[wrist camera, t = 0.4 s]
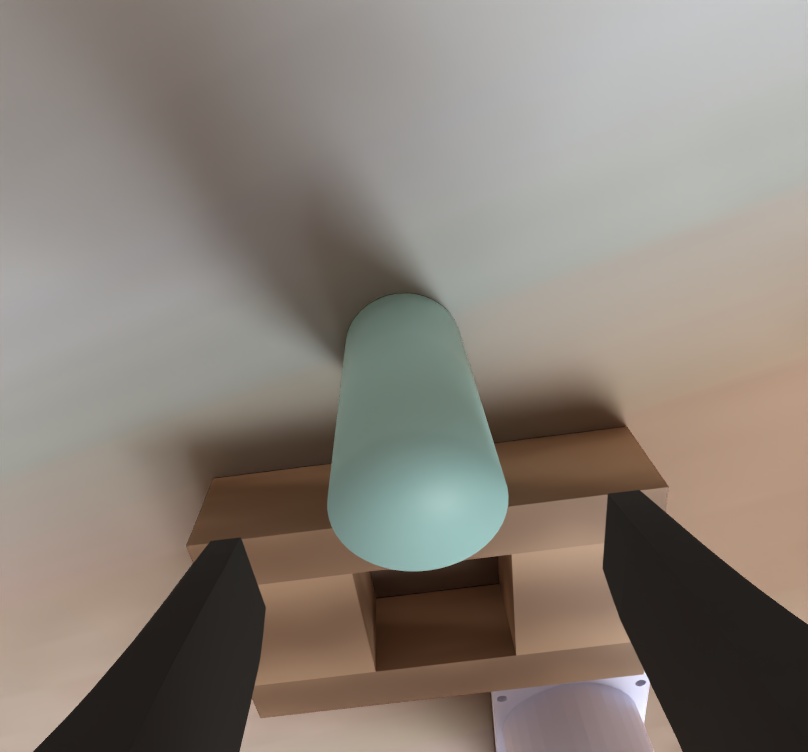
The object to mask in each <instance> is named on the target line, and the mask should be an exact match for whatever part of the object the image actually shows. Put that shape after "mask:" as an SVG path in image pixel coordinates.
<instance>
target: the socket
mask: <svg viewBox="0 0 808 752" xmlns="http://www.w3.org/2000/svg"><path fill="white" fill-rule="evenodd" d="M494 445H495V449H496V452H497V455H498V458H499V462H500V465H501V468H502V471H503V474H504V478H505V481H506V484H507V488H508V496H509V497H508V508H507V513H506V516H505V519H504V521H503V524H502V525H501V527H500V529H499V531H498V532H497V533H496V535H495V536H494V537H493V539H492V540H491V541H490V542H489V543H488V544H487V545H486V546H484V547H483V548H482V549H481V550H479V551H478V552H477V553H475V554H473V555H472V556H470V557H469V558H467V559H465V560H469V559H478V558H486V557H494V556H498V569H499V584H496V585H487V586H479V587H470V588H462V589H454V590H445V591H437V592H428V593H420V594H412V595H403V596H395V597H386V598H378V599H376V596H375V592H374V587H373V583H372V578H371V573H370V571H378V570H386V569H388V568H384V567H381V566H378V565H374V564H372V563H370V562H368V561H365V560H364V559H362V558H360V557H359V556H357V555H355V554H354V553H353V552H351V551H350V550H349V549H348V548H347V547H346V546H345V545H344V544H343V543H342V542H341V541H340V540H339V538H338V537H337V536H336V534H335V532H334V530H333V528H332V526H331V523H330V521H329V517H328V511H327V499H328V490H329V481H330V473H331V464H326V465H318V466H310V467H302V468H294V469H286V470H278V471H270V472H262V473H254V474H246V475H238V476H230V477H222V478H214V479H213V480H212V483H211V485H210V488H209V490H208V493H207V495H206V498H205V500H204V503H203V505H202V508H201V510H200V513H199V515H198V518H197V520H196V523H195V525H194V528H193V530H192V533H191V535H190V538H189V540H188V543H187V545H186V547H187V549H188V552H189V554H190V556H191V559H192V561H193V563H194V562H195V560H196V559H197V558H198V556H199V555H200V554H201V552H202V551H203V550H204V549H205V547H206V546H207V545H208V543H209V542H210V541H214V540H223V539H231V538H240V537H241V539H242V542H243V545H244V547H245V550H246V553H247V556H248V559H249V561H250V564H251V567H252V570H253V573H254V575H255V578H256V581H257V584H258V587H259V590H260V592H261V595H262V598H263V601H264V604H265V606H266V611H265V622H264V632H263V641H262V649H261V657H260V663H259V668H258V672H257V677H256V681H255V686H254V690H253V695H252V700H253V702H254V704H255V706H256V709H257V711H258V713H259V716H260V718H266V717H275V716H284V715H293V714H301V713H310V712H319V711H328V710H336V709H345V708H354V707H363V706H371V705H380V704H389V703H398V702H406V701H415V700H424V699H433V698H441V697H450V696H459V695H468V694H476V693H485V692H494V691H503V690H511V689H520V688H529V687H538V686H546V685H555V684H564V683H573V682H581V681H590V680H599V679H608V678H616V677H625V676H634V675H643V674H644V669H643V667H642V665H641V663H640V661H639V659H638V656H637V654H636V652H635V650H634V648H633V646H632V644H631V642H630V640H629V637H628V635H627V633H626V631H625V629H624V627H623V625H622V623H621V620H620V618H619V615H618V612H617V610H616V607H615V604H614V601H613V598H612V596H611V593H610V590H609V587H608V584H607V581H606V578H605V575H604V572H603V569H602V568H603V554H604V540H605V526H606V512H607V498H608V494H609V493H618V492H626V491H634V490H640V491H641V492H643V493H644V494H645V495H646V496H647V497H649V498H650V499H651V500H652V501H653V502H654V503H656V504H657V505H658V506H659V507H660V508H661V509H662V510H664V511H666V504H667V496H668V489H669V487H668V485H667V484H666V482H665V481H664V479H663V478H662V477H661V475H660V474H659V472H658V471H657V469H656V468H655V466H654V465H653V463H652V462H651V461H650V459H649V458H648V456H647V455H646V453H645V452H644V450H643V449H642V448H641V446H640V445H639V443H638V442H637V440H636V439H635V437H634V436H633V435H632V433H631V432H630V430H629V429H628V427H620V428H613V429H605V430H597V431H589V432H581V433H573V434H565V435H557V436H549V437H541V438H533V439H525V440H517V441H509V442H501V443H494Z"/></svg>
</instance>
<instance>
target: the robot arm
mask: <svg viewBox="0 0 808 752" xmlns="http://www.w3.org/2000/svg"><path fill="white" fill-rule="evenodd" d="M602 569H603V572H604V575H605V578H606V581H607V584H608V587H609V590H610V593H611V596H612V598H613V601H614V604H615V607H616V610H617V612H618V615H619V618H620V620H621V623H622V625H623V627H624V629H625V631H626V633H627V635H628V637H629V640H630V642H631V644H632V646H633V648H634V650H635V652H636V654H637V656H638V659H639V661H640V663H641V665H642V667H643V669H644V674H643V675H634V676H625V677H616V678H608V679H599V680H590V681H581V682H573V683H564V684H555V685H546V686H538V687H529V688H520V689H511V690H503V691H494V692H491V698H492V710H493V722H494V734H495V746H496V752H655V751H654V748H653V746H652V743H651V741H650V738H649V736H648V733H647V731H646V728H645V726H644V720H645V713H646V706H647V700H648V693H649V686H650V683H651V686H652V688H653V690H654V692H655V694H656V696H657V698H658V700H659V702H660V704H661V706H662V708H663V710H664V712H665V715H666V717H667V719H668V721H669V723H670V725H671V727H672V729H673V731H674V733H675V735H676V737H677V740H678V742H679V744H680V746H681V749H682V751H683V752H808V624H806V623H805V622H804V621H802V620H801V619H799V618H798V617H796V616H795V615H794V614H792V613H791V612H789V611H788V610H787V609H785V608H784V607H783V606H781V605H780V604H779V603H777V602H776V601H774V600H773V599H772V598H770V597H769V596H768V595H766V594H765V593H764V592H762V591H761V590H760V589H758V588H757V587H756V586H754V585H753V584H752V583H751V582H749V581H748V580H747V579H745V578H744V577H743V576H742V575H740V574H739V573H738V572H737V571H735V570H734V569H733V568H732V567H730V566H729V565H728V564H727V563H725V562H724V561H723V560H722V559H720V558H719V557H718V556H717V555H715V554H714V553H713V552H712V551H711V550H709V549H708V548H707V547H706V546H705V545H703V544H702V543H701V542H700V541H699V540H697V539H696V538H695V537H694V536H693V535H691V534H690V533H689V532H688V531H687V530H686V529H684V528H683V527H682V526H681V525H680V524H679V523H677V522H676V521H675V520H674V519H673V518H672V517H671V516H669V515H668V514H667V513H666V512H665V511H664V510H662V509H661V508H660V507H659V506H658V505H657V504H656V503H654V502H653V501H652V500H651V499H650V498H649V497H647V496H646V495H645V494H644V493H643V492H641V491H640V490H634V491H626V492H618V493H609V494H608V498H607V512H606V526H605V540H604V554H603V568H602ZM265 611H266V606H265V604H264V601H263V598H262V595H261V592H260V590H259V587H258V584H257V581H256V578H255V575H254V573H253V570H252V567H251V564H250V561H249V559H248V556H247V553H246V550H245V547H244V545H243V542H242V539H241V537H240V538H231V539H223V540H214V541H210V542H209V543H208V545H207V546H206V547H205V549H204V550H203V551H202V552H201V554H200V555H199V556H198V558H197V559H196V560H195V562H194V563H193V564H192V565H191V567H190V568H189V569H188V571H187V572H186V573H185V575H184V576H183V577H182V579H181V580H180V581H179V583H178V584H177V585H176V587H175V588H174V589H173V591H172V592H171V593H170V595H169V596H168V597H167V599H166V600H165V601H164V603H163V604H162V605H161V606H160V608H159V609H158V610H157V611H156V613H155V614H154V615H153V617H152V618H151V619H150V620H149V622H148V623H147V624H146V625H145V627H144V628H143V629H142V631H141V632H140V633H139V634H138V636H137V637H136V638H135V639H134V641H133V642H132V643H131V644H130V646H129V647H128V648H127V649H126V650H125V652H124V653H123V654H122V655H121V656H120V657H119V659H118V660H117V661H116V662H115V663H114V664H113V666H112V667H111V668H110V669H109V670H108V671H107V673H106V674H105V675H104V676H103V677H102V679H101V680H100V681H99V682H98V683H97V684H96V686H95V687H94V688H93V689H92V690H91V691H90V692H89V693H88V695H87V696H86V697H85V698H84V699H83V700H82V701H81V702H80V703H79V705H78V706H77V707H76V708H75V709H74V710H73V711H72V712H71V713H70V714H69V715H68V716H67V717H66V719H65V720H64V721H63V722H62V723H61V724H60V725H59V726H58V727H57V728H56V729H55V730H54V731H53V732H52V733H51V734H50V735H49V736H48V737H47V738H46V739H45V740H44V741H43V742H42V743H41V744H40V745H39V746H38V747H37V748H36V749H35V750H34V751H33V752H239V751H240V747H241V742H242V738H243V734H244V730H245V725H246V721H247V717H248V712H249V708H250V704H251V699H252V695H253V690H254V686H255V681H256V677H257V672H258V668H259V663H260V657H261V649H262V641H263V632H264V622H265Z"/></svg>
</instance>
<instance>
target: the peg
mask: <svg viewBox="0 0 808 752" xmlns="http://www.w3.org/2000/svg"><path fill="white" fill-rule="evenodd" d="M508 497H509V496H508V488H507V484H506V481H505V478H504V474H503V471H502V468H501V465H500V462H499V458H498V455H497V452H496V449H495V445H494V442H493V439H492V436H491V432H490V429H489V426H488V423H487V419H486V416H485V413H484V410H483V406H482V403H481V400H480V397H479V393H478V390H477V387H476V384H475V380H474V377H473V374H472V371H471V368H470V364H469V361H468V358H467V355H466V351H465V348H464V345H463V342H462V338H461V335H460V332H459V329H458V326H457V324H456V322H455V320H454V319H453V317H452V316H451V314H450V313H449V312H448V311H447V310H446V309H445V308H444V307H443V306H441V305H440V304H439V303H437V302H435V301H434V300H432V299H429V298H427V297H424V296H421V295H417V294H409V293H400V294H392V295H388V296H385V297H382V298H379V299H377V300H375V301H373V302H372V303H370V304H368V305H367V306H366V307H365V308H363V309H362V310H361V311H360V312H359V313H358V315H357V316H356V317H355V318H354V320H353V321H352V323H351V325H350V327H349V330H348V333H347V337H346V343H345V352H344V360H343V369H342V378H341V386H340V395H339V404H338V412H337V421H336V430H335V438H334V447H333V455H332V464H331V473H330V481H329V490H328V499H327V511H328V517H329V521H330V523H331V526H332V528H333V530H334V532H335V534H336V536H337V537H338V538H339V540H340V541H341V542H342V543H343V544H344V545H345V546H346V547H347V548H348V549H349V550H350V551H351V552H353V553H354V554H355V555H357V556H359V557H360V558H362V559H364V560H365V561H368V562H370V563H372V564H374V565H378V566H381V567H384V568H388V569H393V570H400V571H428V570H434V569H439V568H443V567H447V566H450V565H453V564H456V563H458V562H461V561H463V560H465V559H467V558H469V557H470V556H472V555H473V554H475V553H477V552H478V551H479V550H481V549H482V548H483V547H484V546H486V545H487V544H488V543H489V542H490V541H491V540H492V539H493V537H494V536H495V535H496V533H497V532H498V531H499V529H500V527H501V525H502V524H503V521H504V519H505V516H506V513H507V508H508Z"/></svg>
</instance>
